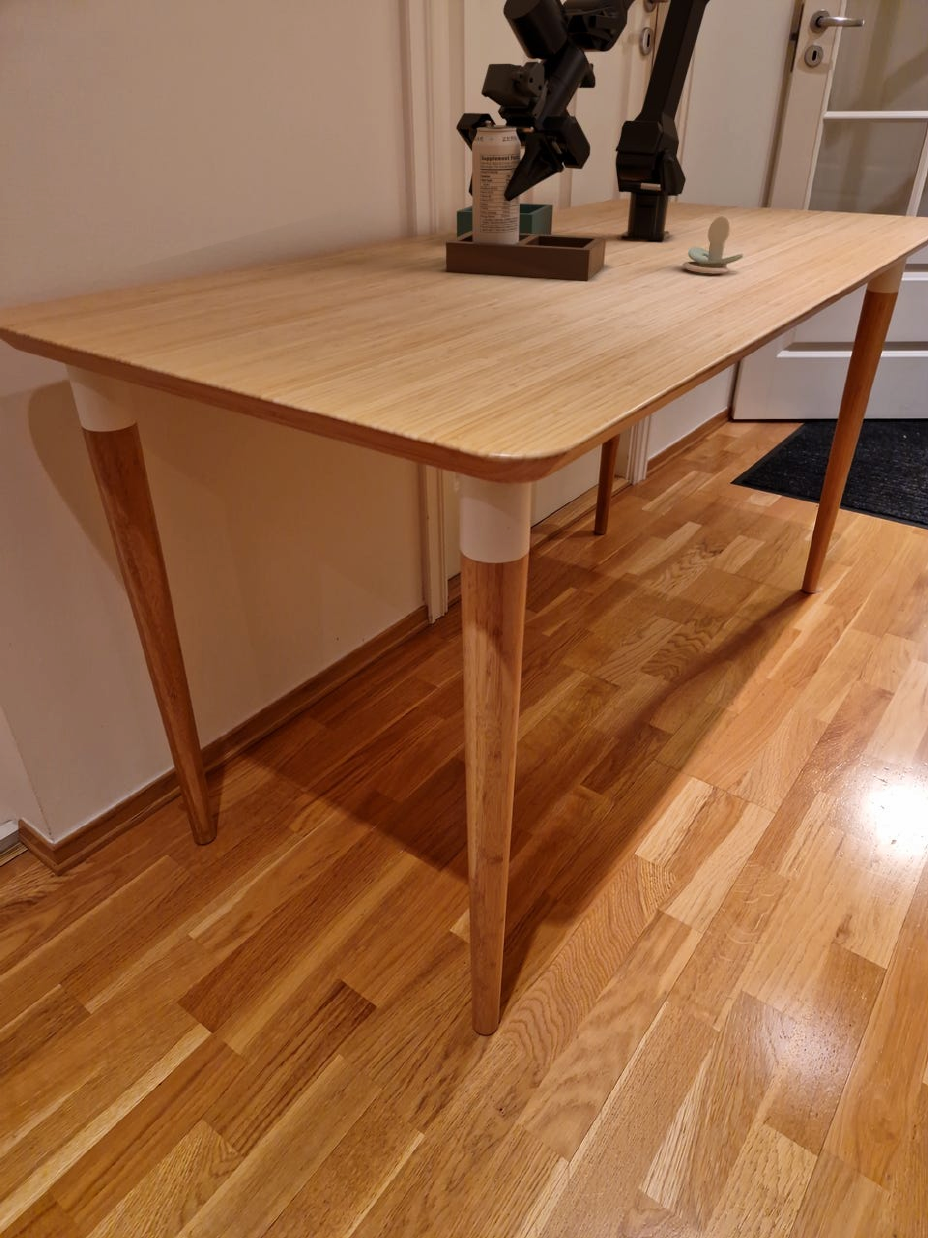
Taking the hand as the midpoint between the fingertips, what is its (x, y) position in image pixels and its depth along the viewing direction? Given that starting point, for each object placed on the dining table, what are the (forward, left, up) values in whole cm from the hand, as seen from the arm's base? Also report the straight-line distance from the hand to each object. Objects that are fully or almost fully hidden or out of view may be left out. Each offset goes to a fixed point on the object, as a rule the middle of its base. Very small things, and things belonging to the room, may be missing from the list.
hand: (488, 196), depth 105 cm
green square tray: (-22, -4, -8) cm, 24 cm away
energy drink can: (-1, +1, -8) cm, 8 cm away
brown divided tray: (-1, +5, -8) cm, 10 cm away
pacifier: (-7, +28, -9) cm, 30 cm away
